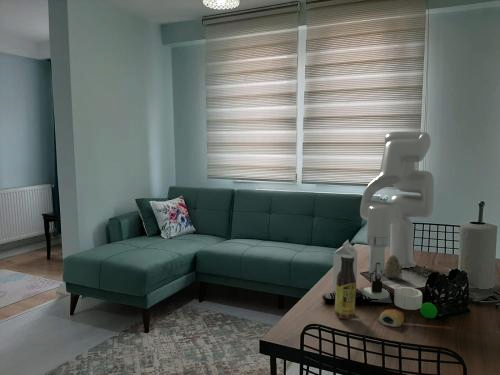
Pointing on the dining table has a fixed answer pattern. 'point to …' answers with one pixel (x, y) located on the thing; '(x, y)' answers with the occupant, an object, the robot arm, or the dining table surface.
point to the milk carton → (344, 250)
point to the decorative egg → (392, 267)
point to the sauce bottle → (345, 289)
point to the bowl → (408, 298)
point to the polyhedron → (428, 310)
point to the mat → (380, 300)
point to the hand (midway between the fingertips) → (375, 286)
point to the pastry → (392, 318)
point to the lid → (375, 295)
